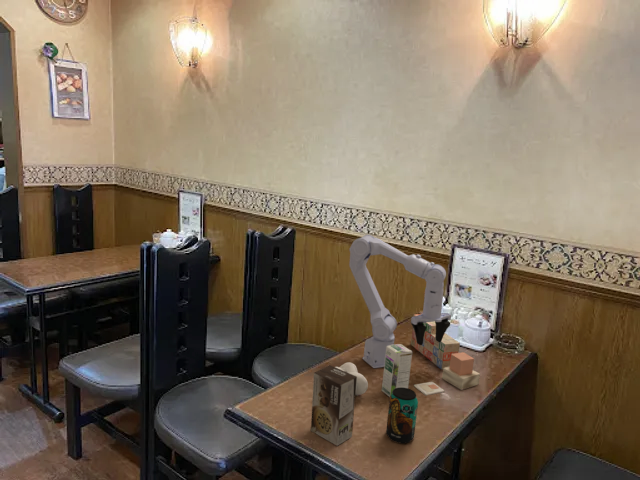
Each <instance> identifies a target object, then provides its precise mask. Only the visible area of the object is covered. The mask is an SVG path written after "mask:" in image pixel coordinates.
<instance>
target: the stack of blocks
mask: <svg viewBox="0 0 640 480" xmlns="http://www.w3.org/2000/svg"><path fill="white" fill-rule="evenodd" d="M420 314H421V313H420ZM420 314H418V313H417V314H416V313H415V314H413V317H415V316H418V315H420ZM423 324H424V326H426V327H427V328H426V331H425V333H424V338H423V344H422V345H419V344H418V343H417V340H416V335H415V331H414V328H413V327H412V329H411V330H412V332H411V333H412V334H411V342H410V345H411V346H412V347H413V348H414V349H416V350H417V352H420V354H421V355H423V356H424V357H426V359H428V360H430V362H432V363H433V364H434V366H436V367H438V368H439V369H440V370H443V368H446V367H449V366H450V359H451V354H455V353H460V346H461V345H460V344H461V343H460V341H458V340H456V339H455V338H453V336H450V335H449V334H447V333H446V332H445V334H444V336H443V338H442V341H441V342H438V341H436V339H435V335H436V324H435V321H433V322H425V323H423Z"/></svg>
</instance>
